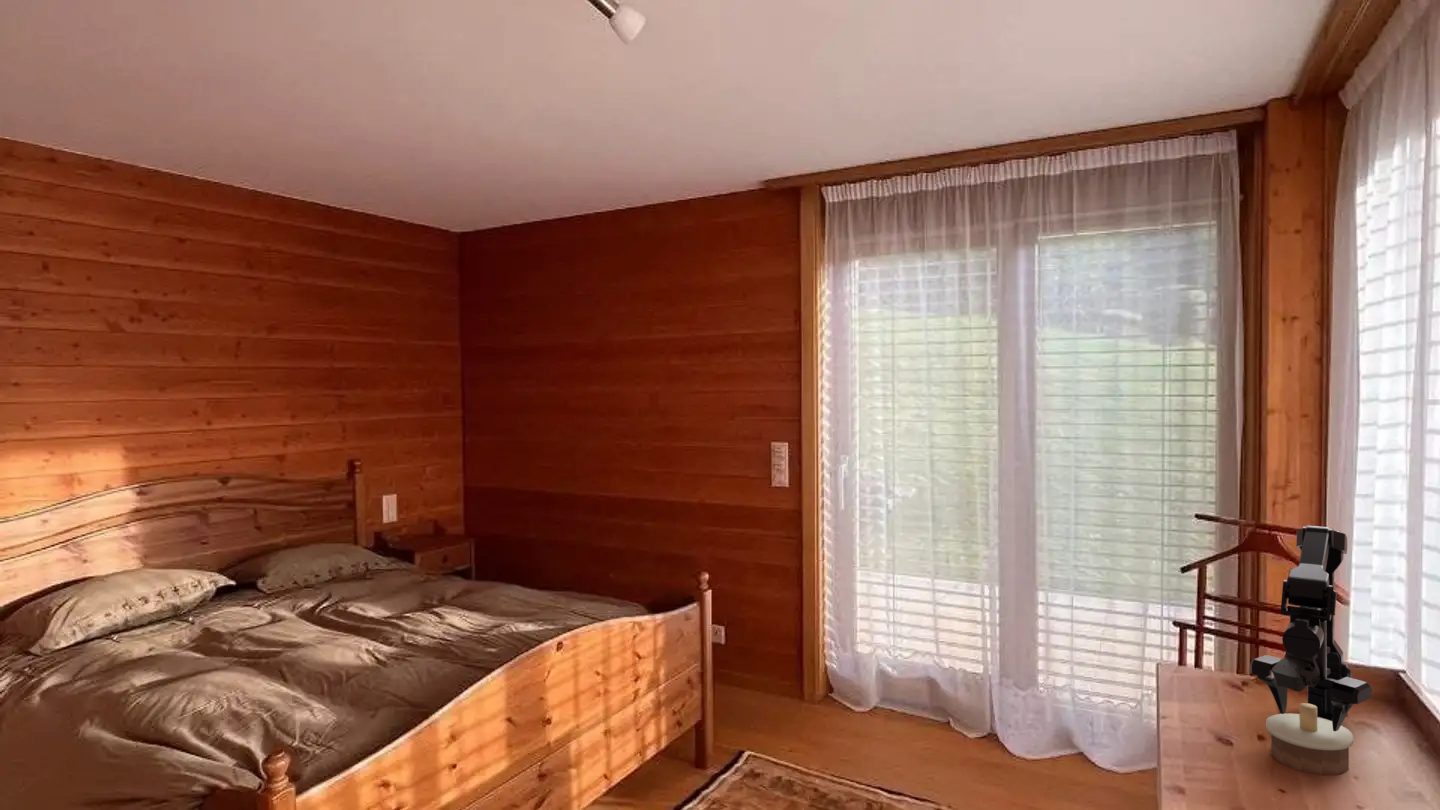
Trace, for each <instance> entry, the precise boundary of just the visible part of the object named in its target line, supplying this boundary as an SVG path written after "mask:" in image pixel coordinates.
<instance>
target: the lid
mask: <svg viewBox="0 0 1440 810" xmlns="http://www.w3.org/2000/svg"><path fill="white" fill-rule="evenodd" d="M1298 707H1299V711H1298V712H1299V713H1285V714H1281V713H1277V714H1273V715H1271V716H1268V718H1267V719H1266V720H1265V721H1266V722H1265V727H1266V730H1267V732H1268V733H1269V734H1270V735H1271V734H1272V735H1273V736H1275V737H1277V738H1279V739H1281V740H1283V741H1285V742H1288V743H1291V744H1294V745H1297V746H1301V747H1305V748H1311V749H1318V750H1342V749H1346V748H1348V747H1349V748H1350V747H1352V745H1353V743H1354V735H1353V733H1352V731H1350V730H1349V729H1348V728H1347V727H1345V726H1343V725H1341V726H1340V728H1339V730H1338V731H1333V725H1332V721H1333V720H1329V719H1326V718H1322V717H1319V716H1317V706H1315V705H1313V704H1308V702H1302V703H1301V702H1300V703H1299V706H1298Z"/></svg>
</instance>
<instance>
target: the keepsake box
mask: <svg viewBox="0 0 1440 810" xmlns="http://www.w3.org/2000/svg"><path fill="white" fill-rule="evenodd" d="M1270 742H1271V743H1270V744H1271V745H1270V749H1271V750H1270V751H1271V757H1272V758H1273V759H1275V760H1276V761H1277V762H1279V763H1280V764H1281V765H1284V766H1286V767H1289V768H1290V769H1291V768H1292V769H1293V770H1294V769H1295V770H1296V771H1299V772H1303V773H1309V774H1315V775H1320V776H1327V775H1328V776H1329V775H1332V776H1333V775H1341V774H1343V773H1345V772H1347V771H1349V770H1350V762H1349V761H1350V756H1349V755H1350V751H1349V749H1350V747H1348V748H1346V749H1342V750H1318V749H1311V748H1305V747H1301V746H1297V745H1294V744H1291V743H1288V742H1285V741H1283V740H1281V739H1279V738H1277V737H1275V736H1273V735H1272V734H1271V733H1270Z"/></svg>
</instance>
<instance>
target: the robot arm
mask: <svg viewBox="0 0 1440 810" xmlns="http://www.w3.org/2000/svg"><path fill="white" fill-rule="evenodd" d="M1295 543H1296V548H1297V550H1300V557H1299V560H1298V561H1299V562H1298V566H1295V567H1294V568H1291V569H1289V571H1288V575H1287V579H1283V581H1282V582H1283V583H1282V592H1281V601H1280V603H1281V604H1280V615H1283V616H1284V615H1285V616H1289V623H1288V624H1287V626H1286V629H1285V630H1284V632H1283V634H1282V644H1283V646H1284V648H1285V654H1284V656H1283V658H1280V657H1277V656H1273V655H1269V654H1264V655H1262V656H1259V657H1256V658H1253V660H1251V662H1250V664H1249V667H1250V668H1249V669H1250V670H1249V672H1250V673H1251V675H1255V676H1257V679H1258V681H1259V680H1260V681H1262V682H1263V683H1265V684H1266V685H1267V686H1268V688H1269V691H1270V692H1271V695H1272V696H1273V699H1274V701H1275V704H1276V706H1277V709H1278V711H1279V714H1287V713H1286V712H1287V707H1288V689H1290V690H1292V691H1294V692H1302V691H1303V690H1305V688H1306V687H1307V694H1306V695H1307V703H1308V704H1313V705H1315V706H1317V717H1319V718H1323V719H1326V720H1329V721H1332V725H1333V731H1338V730H1339V728H1340V726H1342V724H1343V722H1344V720H1345V718H1346V717H1347V715H1348V714H1349V711H1350V710H1351V709H1352V707H1353V706H1354V705H1358V704H1359V705H1360V704H1361V703H1364V702H1365V701H1368V700H1370V699H1372V698H1373V689H1372V687H1371V685H1370V684H1369V683H1368V682H1367V681H1363V680H1360V679H1357V678H1353V677H1352V670H1351V669H1350V668H1349V666H1348V662H1344V658H1345V657H1344V652H1343V650H1342V648H1341V647H1340V645H1339V644H1338V642H1337V641H1336V640H1335V616H1336V609H1337V608H1336V607H1337V606H1336V605H1337V598H1338V597H1337V596H1338V595H1337V591H1336V590H1335V571H1336V570H1337V569H1338V568H1339V566H1341V564H1342V562H1343V561H1344V555H1345V554H1346V555H1347V554H1348V537H1347V535H1346V533H1344V532H1341V531H1338V530H1334V528H1330V527H1329V526H1328V527H1327V526H1317V525H1305V526H1302V528H1300V529H1296V542H1295Z"/></svg>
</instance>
